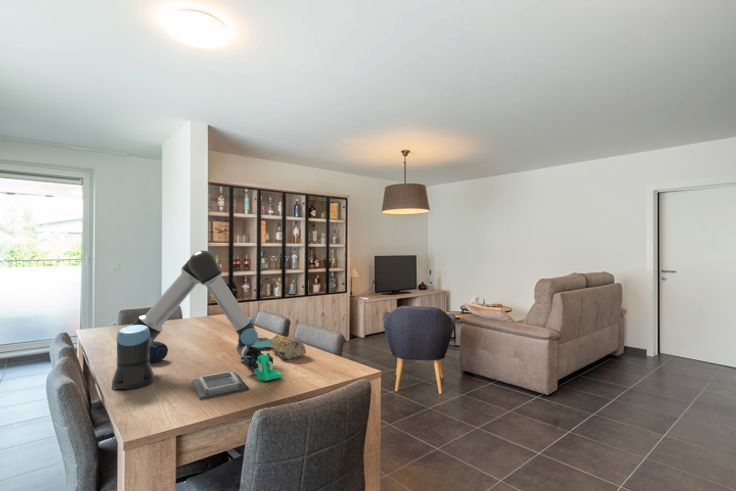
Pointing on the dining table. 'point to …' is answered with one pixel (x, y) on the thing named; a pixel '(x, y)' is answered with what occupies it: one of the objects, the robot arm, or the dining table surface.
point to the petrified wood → (287, 347)
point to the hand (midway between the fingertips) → (266, 367)
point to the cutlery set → (263, 343)
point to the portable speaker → (157, 351)
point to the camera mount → (266, 369)
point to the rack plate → (218, 384)
